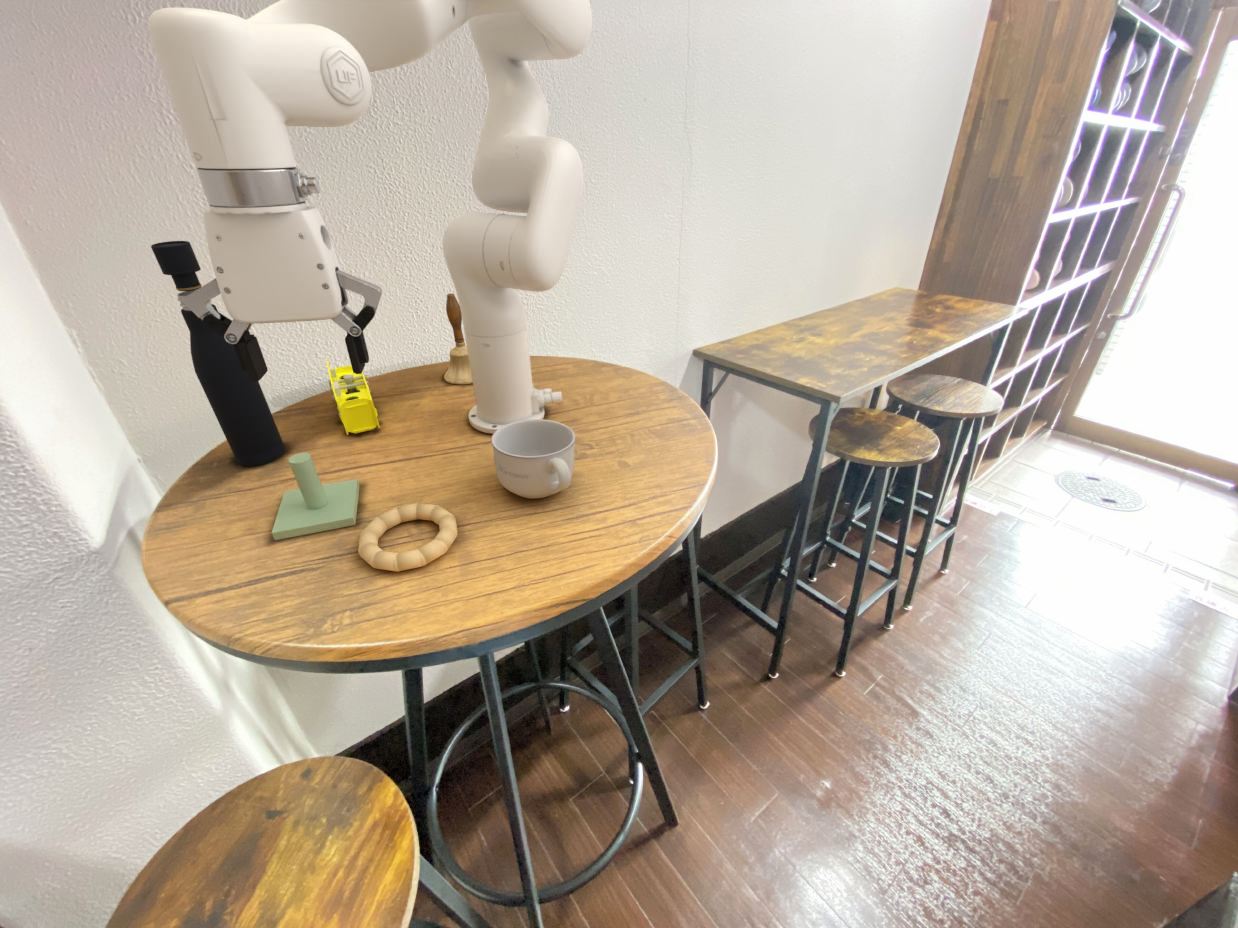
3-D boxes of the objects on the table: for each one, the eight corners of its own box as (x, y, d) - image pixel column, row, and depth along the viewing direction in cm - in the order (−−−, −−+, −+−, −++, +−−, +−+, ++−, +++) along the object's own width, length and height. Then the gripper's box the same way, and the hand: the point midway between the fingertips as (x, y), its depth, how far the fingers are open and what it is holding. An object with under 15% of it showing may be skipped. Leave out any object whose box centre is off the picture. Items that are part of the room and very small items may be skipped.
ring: (454, 505, 70) (451, 493, 69) (462, 561, 61) (459, 548, 60) (364, 523, 67) (359, 510, 66) (358, 584, 58) (353, 570, 57)
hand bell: (465, 388, 100) (451, 303, 92) (435, 378, 104) (418, 296, 95) (496, 373, 106) (485, 292, 97) (466, 364, 110) (453, 285, 101)
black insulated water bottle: (264, 468, 77) (168, 250, 61) (226, 464, 78) (122, 248, 62) (295, 446, 83) (214, 239, 66) (259, 442, 84) (171, 237, 67)
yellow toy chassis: (336, 400, 96) (321, 356, 91) (369, 394, 98) (357, 351, 94) (345, 440, 84) (329, 391, 80) (383, 431, 86) (370, 384, 82)
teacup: (491, 473, 76) (483, 424, 72) (563, 457, 80) (560, 409, 75) (515, 532, 65) (507, 478, 61) (597, 510, 69) (595, 458, 65)
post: (359, 485, 74) (343, 434, 69) (355, 525, 66) (336, 470, 62) (287, 498, 71) (265, 445, 67) (274, 540, 64) (248, 485, 60)
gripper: (366, 188, 52) (400, 355, 61) (163, 189, 49) (231, 367, 58) (353, 195, 46) (394, 379, 55) (119, 196, 42) (203, 394, 51)
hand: (310, 373), depth 56 cm, fingers open, 9 cm apart
